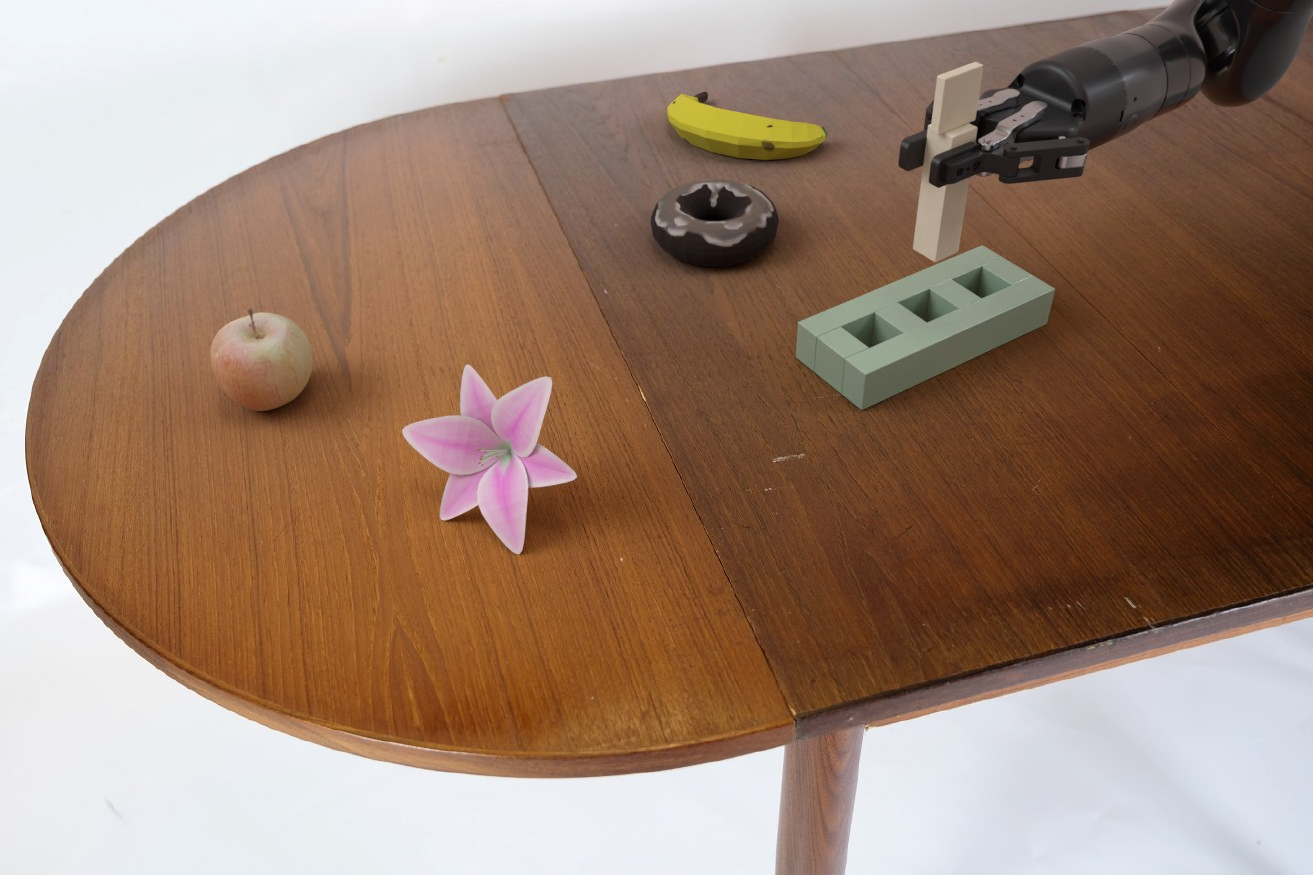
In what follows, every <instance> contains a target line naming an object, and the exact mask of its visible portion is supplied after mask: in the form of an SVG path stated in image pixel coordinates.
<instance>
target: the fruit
mask: <svg viewBox="0 0 1313 875" xmlns="http://www.w3.org/2000/svg"><path fill="white" fill-rule="evenodd" d="M246 311H247V313H248V315H245V316H242V317H239V318H237V319H234V320H232V321H230V322H228V323H227V324H224V326H222V327H221V328H220V329H219V330H218V331H217V333H216V334H215V336H214V337H213V340H212V342H211V345H210V349H209V350H210V351H209V352H210V353H209V360H210V366H211V370H212V373H213V377H214V378H215V380H216V381H217V384H218V386H219V387H220V388H221V390H222V391H223V393H225V395H226V396H227V397H228V398H229V399H230V400H231V401H233V402H234V403H236V404H237V405H239V406H240V407H242V408H244V409H247V410H250V411H258V412H264V411H270V410H274V409H277V408H280V407H282V406H284V405H287V404H289V403H290V402H292V401H294V400H295V399H296V398H297V397H299V395H301V393H302V392H303V390H304V389H305V387H306V386H307V384H308V382H309V380H310V378H311V375H312V371H313V366H314V356H313V349H312V346H311V343H310V341H309V339H308V336H307V335H306V333H305V332H304V331H303V329H302V328H301V327H300V326H299V325H298V323H296V322H295V321H294V320H292V319H290V318H288V317H286V316H284V315H281V314H279V313H278V314H277V313H274V312H266V311H265V312H263V311H262V312H255V313H254V311H253V308H248V309H247V310H246Z"/></svg>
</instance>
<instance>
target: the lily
mask: <svg viewBox="0 0 1313 875" xmlns="http://www.w3.org/2000/svg"><path fill="white" fill-rule="evenodd" d="M462 371H463V372H462V376H461V384H460V392H459V393H460V396H459V410H460V411H459V412H460V413H459V414H457V415H455V414H453V415H444V416H438V417H433V418H427V419H423V420H419V421H416V422H412V423H410V424H408V425H405V426H404V427H403V428H402V429H401V432H402V436H403V438H404V439H405V440H406V441H407V443H408V444H409V445H410V446H411V447H412V448H414V450H415V451H416V452H418V453H419V454H420V455H421V456H422V457H424V458H425V459H426V460H427V461H429V463H431V464H433V466H435V467H437V469H440V470H441V471H444V472H446V473H448V474H449V475H448V478H447V481H446V484H445V487H444V491H443V493H442V496H441V497H442V498H441V503H440V507H439V518H440V520H441V521H448V520H451V519H453V518H454V519H455V518H456V517H458V516H460V515H462V514H465V513H466V512H469V511H470V510H472V509H474V508H476V507H478V508H479V510H480V512H481V515H482V517H483V518H484V520H485V521H486V523H487V524H488V526H489V527H490V528H491V530H492V531H493V532H494V534H495V535H496V536H497V538H498V539H499V540H500V541H501V542H502V543H503V545H505V547H506V548H508V550H510V551H511V552H512V553H513V554H516V555H520V554H521V553H522V552H523V548H524V544H525V537H526V536H525V535H526V525H527V510H528V509H527V508H528V498H529V488H543V487H551V486H556V485H561V484H566V483H569V482H573V481H575V479H577V478H578V475H577V472H576V471H575V470H574V469H573V468H571V466H569V465H568V464H567V463H566V462H565V461H563V459H561V458H560V457H558V456H557V455H556V454H555V453H553V452H552V451H551V450H550V449H548V448H546V447H545V446H544V445H542V444H541V443H539V442H538V439H539V437H540V433H541V430H542V429H541V428H542V425H543V422H544V419H545V416H546V412H547V409H548V405H549V401H550V398H551V394H552V388H553V381H552V376H551V377H550V376H546V375H545V376H541V377H538V378H535V379H533V380H530V381H528V382H526V383H524V384H522V385H520V386H518V387H516V388H514V389H512V390H510V391H509V392H507V393H505V394H503V395H501V397H500V398H498V399H497V398H496V396H495V395H494V393H493V392H492V390H491V389H490V388H489V386H488V385H487V384H486V382H485V381H484V379H483V378H482V377H481V376H480V374H479V373H478V372H477V371H476V370H475V369H474V368H473V366H471V365H470V364H465V366H464V368H463V370H462Z"/></svg>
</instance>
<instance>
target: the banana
mask: <svg viewBox="0 0 1313 875" xmlns="http://www.w3.org/2000/svg"><path fill="white" fill-rule="evenodd" d="M708 100H709V93H708V92H707V91H702V92H699V93H697V94H695V95H693V96H691V95H688V94H686V93H681V94H679V95H678V96H677V97H676V98H675V99H674V100H673V101H671V103H670V104H669V105H668V106H667V110H666V116H667V120H668V122H669V123H670V125H671V127H672V128H673V129H674V130H675V132H676V133H677V134H678V135H679V137H680V138H681V139H683V140H684V141H686V142H688V143H689V144H690V145H692V146H694V147H698V148H700V149H702V150H705V151H708V152H709V153H710V152H711V153H713V154H714V153H715V154H719V155H724V156H728V157H733V158H738V159H749V160H762V161H771V160H785V159H791V158H796V157H797V158H798V157H801V156H805V155H807V154H808V153H810V152H812V151H814V150H816V149H817V148H818V147H820V145H821V144H822V143H823V142H824V141H825V140H826V139H827V138H828V132H827V130H826V128H825V126H820V125H817V124H813V123H809V122H801V121H800V122H799V121H790V120H785V119H778V118H771V117H765V116H761V115H755V114H751V113H745V112H741V111H734V110H729V109H724V108H719V107H715V106H712V105H708V104H707V103H706V101H708Z"/></svg>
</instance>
